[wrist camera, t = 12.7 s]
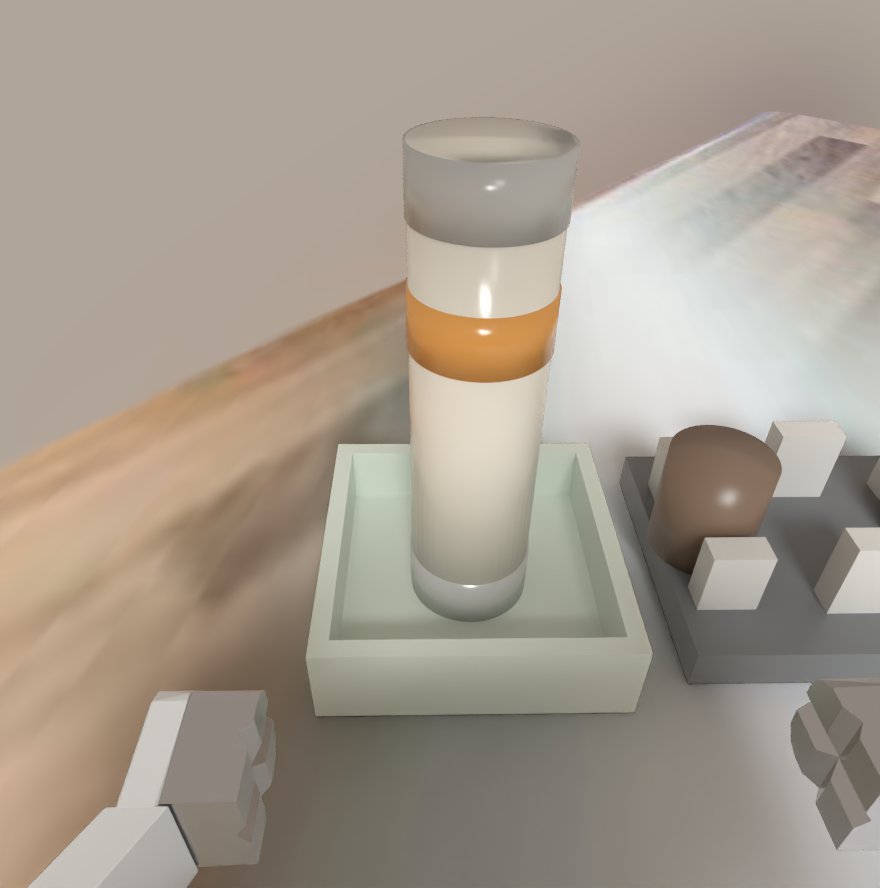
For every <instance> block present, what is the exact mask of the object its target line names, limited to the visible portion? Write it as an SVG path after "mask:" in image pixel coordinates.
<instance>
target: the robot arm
mask: <svg viewBox="0 0 880 888" xmlns="http://www.w3.org/2000/svg"><path fill="white" fill-rule="evenodd" d="M807 694H808V696H809V698H810V700H811V702H809V703H808V704H806V705H804V706H803V707H801V708H799V709H798V710H797V711H796V713H795V715H794V718H793V720H792V722H791V743H792V747H793V751H794V755H795V757H796V760H797V762H798V764H799V767H800V769H801V772H802V773H803V774H804V775H805V776H806V777H808V778H809V779H810V780H811V781H812V782H813V783H814V784H816V785H817V786H818V787H819V790H818V794H817V799H816V805H817V808H818V810H819V812H820V814H821V816H822V819H823V821H824V823H825V825H826V828H827V830H828V832H829V834H830V836H831V839H832V841H833V843H834V845H835V848H836V850H880V677H870V678H843V679H820V680H818V681H815V682H813V683H812V685H811V686H810V688H809V690H808V691H807ZM268 704H269V702H268V698H267V695H266V692H265V690H224V691H196V690H185V691H159V692H158V693H157V695H156V696H155V698H154V699H153V701H152V702H151V704H150V707H149V710H148V713H147V716H146V719H145V722H144V725H143V728H142V731H141V734H140V737H139V740H138V743H137V746H136V749H135V751H134V754H133V757H132V760H131V763H130V766H129V769H128V772H127V775H126V778H125V781H124V784H123V787H122V790H121V793H120V796H119V799H118V802H117V805H116V807H105V808H104V809H103V810H102V811H101V812H100V813H99V814H98V815H97V816H96V817H95V818H94V819H93V820H92V821H91V822H90V823H89V824H88V825H87V826H86V827H85V828H84V829H83V830H82V832H81V833H80V834H79V835H78V836H77V837H76V838H75V839H74V840H73V841H72V842H71V843H70V844H69V845H68V846H67V847H66V848H65V849H64V850H63V851H62V852H61V853H60V854H59V855H58V856H57V857H56V858H55V859H54V860H53V861H52V862H51V863H50V864H49V865H48V866H47V867H46V869H45V870H44V871H43V872H42V873H41V874H40V875H39V876H38V877H37V878H36V879H35V880H34V881H33V882H32V883H31V884H30V885H29V886H28V887H27V888H187V886H188V885H189V884H190V882H191V881H192V879H193V878H194V877H195V875H196V874H197V872H198V869H197V867H210V866H229V865H248V864H258V863H259V857H260V851H261V845H262V839H263V834H264V828H265V822H266V816H267V815H266V811H265V808H264V804H263V801H262V797H261V796H262V795H263V794H264V793H265V791H266V790H267V789H268V788H269V787H270V786H271V784H272V780H273V773H274V767H275V754H276V734H275V726H274V722H273V719H271V718H270V717H268V716H267V710H268Z"/></svg>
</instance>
